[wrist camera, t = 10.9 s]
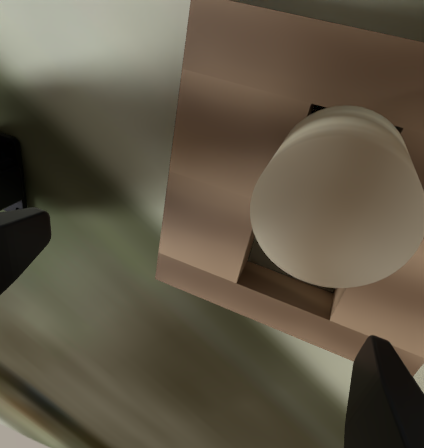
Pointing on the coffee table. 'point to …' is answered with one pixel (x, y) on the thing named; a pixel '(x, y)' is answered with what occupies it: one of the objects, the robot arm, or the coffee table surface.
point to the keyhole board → (261, 156)
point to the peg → (339, 200)
